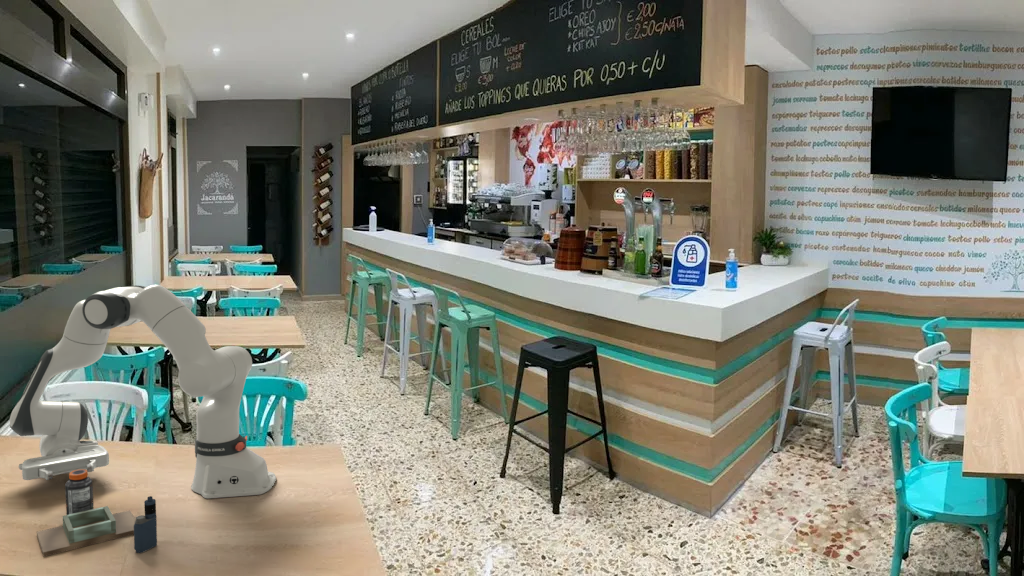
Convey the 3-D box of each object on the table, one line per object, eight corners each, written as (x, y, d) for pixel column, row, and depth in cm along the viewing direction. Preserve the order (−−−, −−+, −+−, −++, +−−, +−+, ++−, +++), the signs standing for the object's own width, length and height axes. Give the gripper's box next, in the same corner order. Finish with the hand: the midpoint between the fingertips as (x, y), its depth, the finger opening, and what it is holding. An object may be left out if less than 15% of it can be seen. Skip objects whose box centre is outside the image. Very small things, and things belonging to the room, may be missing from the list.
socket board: (130, 513, 180) (129, 499, 179) (141, 532, 171) (140, 516, 170) (36, 535, 167) (35, 519, 166) (43, 556, 158) (42, 539, 157)
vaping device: (159, 544, 165) (158, 496, 163) (139, 554, 160) (138, 504, 159) (152, 542, 166) (150, 494, 165) (132, 551, 161) (130, 502, 160)
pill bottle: (74, 508, 181) (72, 466, 180) (98, 508, 182) (96, 467, 180) (61, 519, 175) (59, 476, 174) (86, 519, 176) (84, 476, 174)
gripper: (17, 453, 190) (22, 469, 180) (102, 439, 203) (112, 454, 193) (18, 475, 191) (23, 493, 181) (103, 460, 204) (113, 475, 194)
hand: (70, 472), depth 187 cm, fingers open, 8 cm apart
